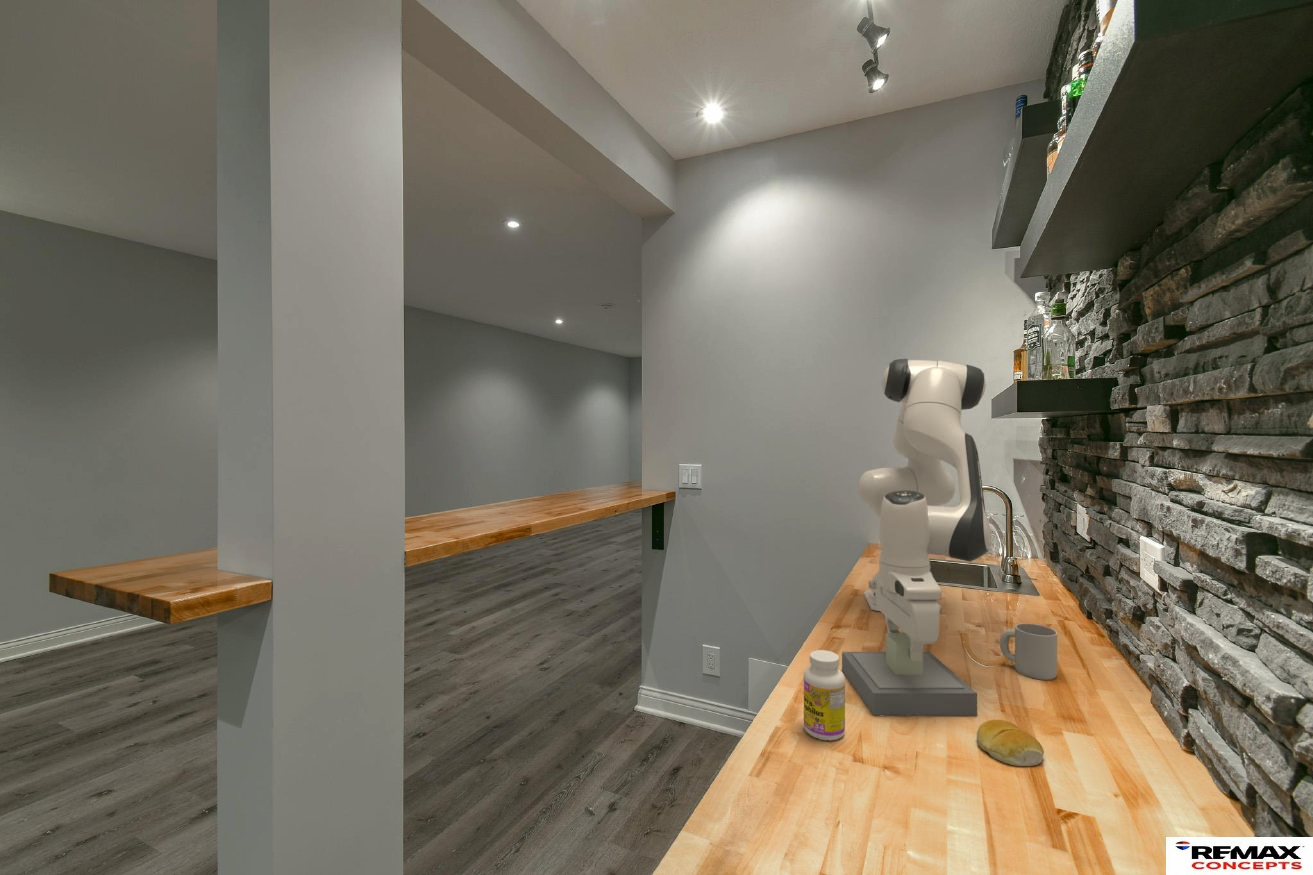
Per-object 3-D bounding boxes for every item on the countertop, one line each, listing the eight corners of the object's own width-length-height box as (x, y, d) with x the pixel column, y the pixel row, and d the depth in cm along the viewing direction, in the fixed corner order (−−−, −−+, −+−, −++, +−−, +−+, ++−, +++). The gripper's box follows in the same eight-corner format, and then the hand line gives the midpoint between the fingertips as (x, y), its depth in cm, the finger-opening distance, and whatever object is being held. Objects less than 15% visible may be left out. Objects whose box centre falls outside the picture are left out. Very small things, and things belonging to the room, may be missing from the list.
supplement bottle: (795, 725, 96) (795, 651, 96) (826, 717, 99) (826, 644, 99) (821, 746, 90) (821, 666, 90) (854, 736, 93) (854, 659, 92)
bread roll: (1009, 733, 94) (1009, 709, 94) (1054, 765, 85) (1054, 739, 85) (963, 737, 93) (963, 713, 93) (1004, 770, 84) (1004, 744, 84)
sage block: (885, 663, 111) (885, 633, 110) (911, 663, 111) (911, 632, 110) (896, 674, 106) (896, 642, 105) (923, 674, 106) (923, 642, 105)
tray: (842, 670, 117) (842, 650, 117) (929, 670, 117) (929, 650, 117) (873, 715, 99) (873, 691, 99) (977, 715, 99) (977, 691, 99)
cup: (1054, 684, 111) (1054, 639, 110) (995, 669, 117) (996, 627, 117) (1059, 671, 116) (1059, 628, 116) (1003, 658, 123) (1003, 617, 122)
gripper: (868, 563, 118) (867, 629, 118) (909, 593, 98) (909, 672, 98) (898, 563, 118) (898, 629, 118) (946, 593, 97) (946, 672, 98)
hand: (903, 649), depth 108 cm, fingers open, 8 cm apart
